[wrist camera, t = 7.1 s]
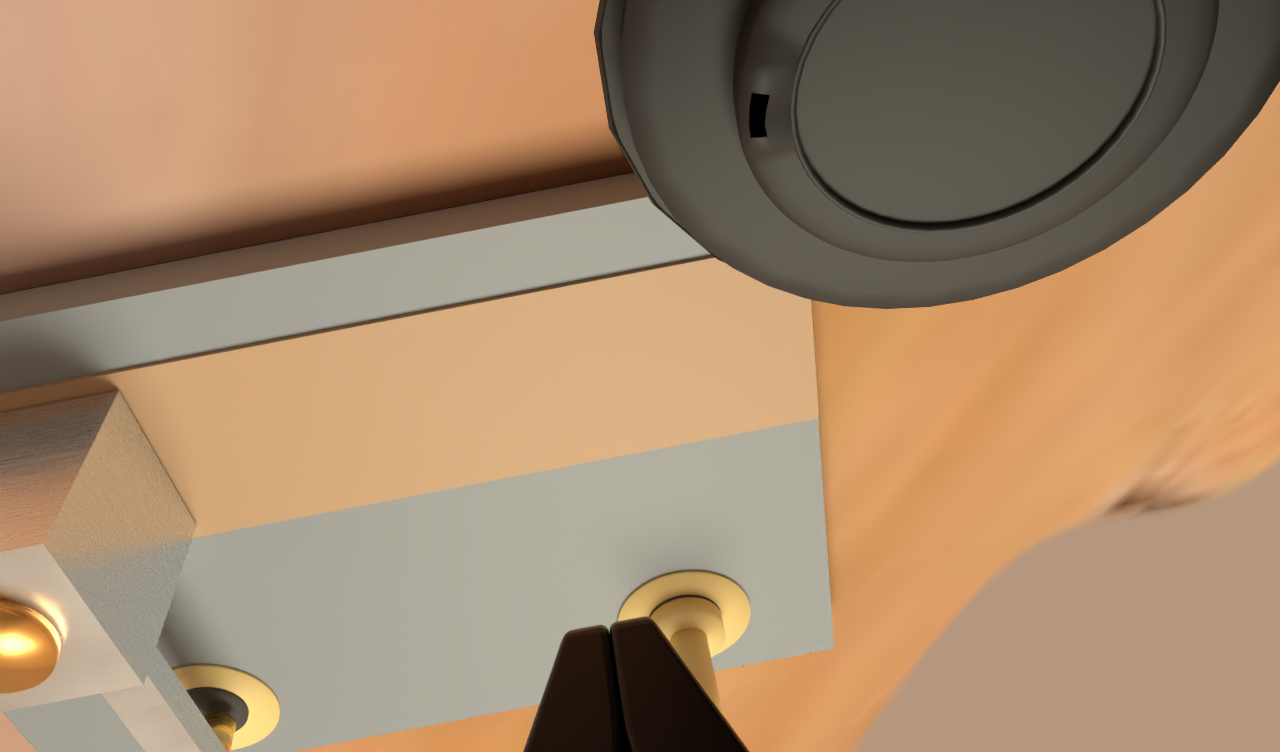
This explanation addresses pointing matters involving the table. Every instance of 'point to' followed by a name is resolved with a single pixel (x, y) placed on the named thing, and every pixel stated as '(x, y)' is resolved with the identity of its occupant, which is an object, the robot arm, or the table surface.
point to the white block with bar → (94, 571)
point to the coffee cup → (925, 130)
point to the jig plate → (449, 459)
